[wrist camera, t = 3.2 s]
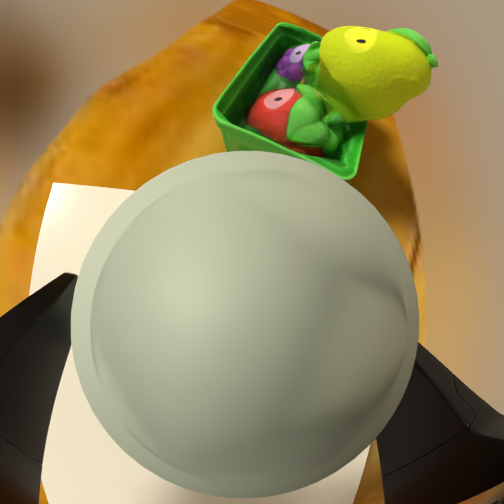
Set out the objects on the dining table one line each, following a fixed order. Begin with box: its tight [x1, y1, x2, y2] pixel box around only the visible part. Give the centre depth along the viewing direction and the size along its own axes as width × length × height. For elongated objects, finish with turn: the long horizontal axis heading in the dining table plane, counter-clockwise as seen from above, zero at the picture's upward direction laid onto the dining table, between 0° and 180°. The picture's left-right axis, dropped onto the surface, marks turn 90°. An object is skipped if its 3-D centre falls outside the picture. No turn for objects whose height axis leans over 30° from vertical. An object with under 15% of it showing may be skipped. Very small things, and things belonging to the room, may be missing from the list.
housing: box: [29, 183, 370, 504], centre depth 12 cm, size 20×18×4 cm
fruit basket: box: [212, 23, 438, 181], centre depth 13 cm, size 11×9×11 cm
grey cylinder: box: [71, 151, 419, 498], centre depth 9 cm, size 5×5×11 cm
